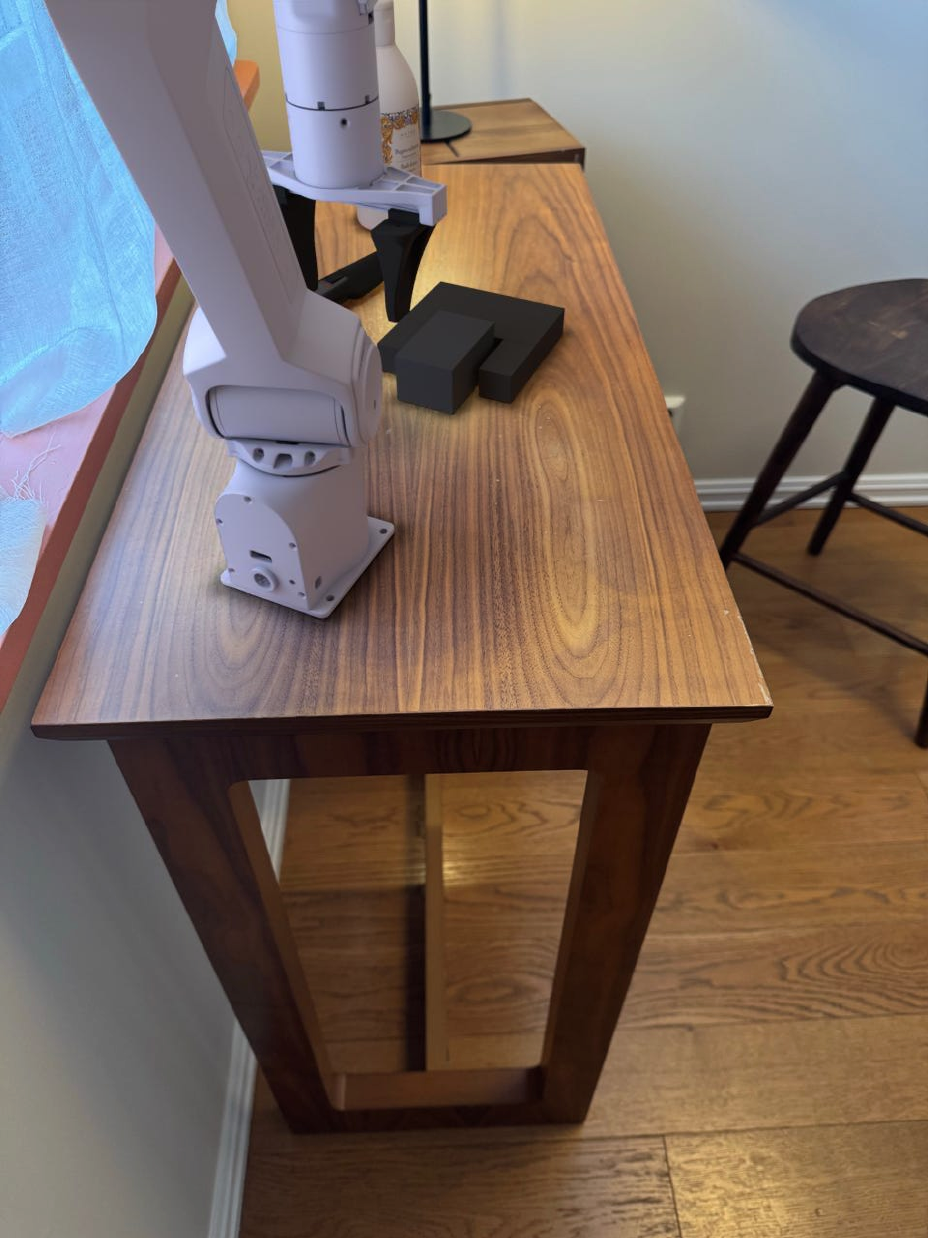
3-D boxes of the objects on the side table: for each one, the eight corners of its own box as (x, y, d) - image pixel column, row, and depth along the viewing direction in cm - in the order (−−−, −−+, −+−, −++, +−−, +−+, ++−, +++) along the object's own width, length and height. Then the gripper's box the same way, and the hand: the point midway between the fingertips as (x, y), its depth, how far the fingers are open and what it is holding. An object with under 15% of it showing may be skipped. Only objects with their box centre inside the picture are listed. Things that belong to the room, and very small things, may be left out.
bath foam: (387, 240, 93) (372, 12, 79) (344, 220, 97) (322, -3, 82) (436, 220, 97) (431, -2, 82) (393, 201, 100) (381, -16, 86)
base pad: (510, 403, 73) (511, 376, 71) (378, 370, 77) (376, 343, 75) (563, 334, 80) (565, 307, 79) (441, 306, 84) (440, 280, 82)
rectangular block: (440, 352, 78) (439, 309, 76) (493, 365, 77) (494, 321, 74) (397, 400, 73) (394, 355, 71) (453, 414, 72) (452, 369, 69)
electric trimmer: (410, 279, 88) (409, 247, 86) (296, 343, 79) (291, 309, 77) (381, 268, 90) (379, 236, 87) (266, 330, 81) (260, 296, 79)
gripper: (467, 92, 56) (467, 301, 66) (269, 62, 60) (296, 262, 70) (414, 128, 52) (422, 346, 61) (204, 93, 56) (243, 302, 66)
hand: (352, 304), depth 65 cm, fingers open, 7 cm apart
